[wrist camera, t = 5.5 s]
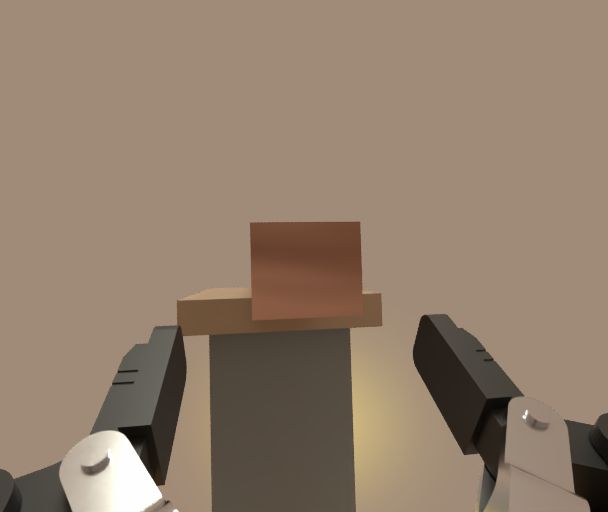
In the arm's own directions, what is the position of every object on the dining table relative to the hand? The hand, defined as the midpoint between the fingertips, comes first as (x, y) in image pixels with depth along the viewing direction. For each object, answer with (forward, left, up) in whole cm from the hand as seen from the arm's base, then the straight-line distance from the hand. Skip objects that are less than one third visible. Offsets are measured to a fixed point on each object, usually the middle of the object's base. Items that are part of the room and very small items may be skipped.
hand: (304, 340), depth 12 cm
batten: (-7, +10, +1) cm, 12 cm away
